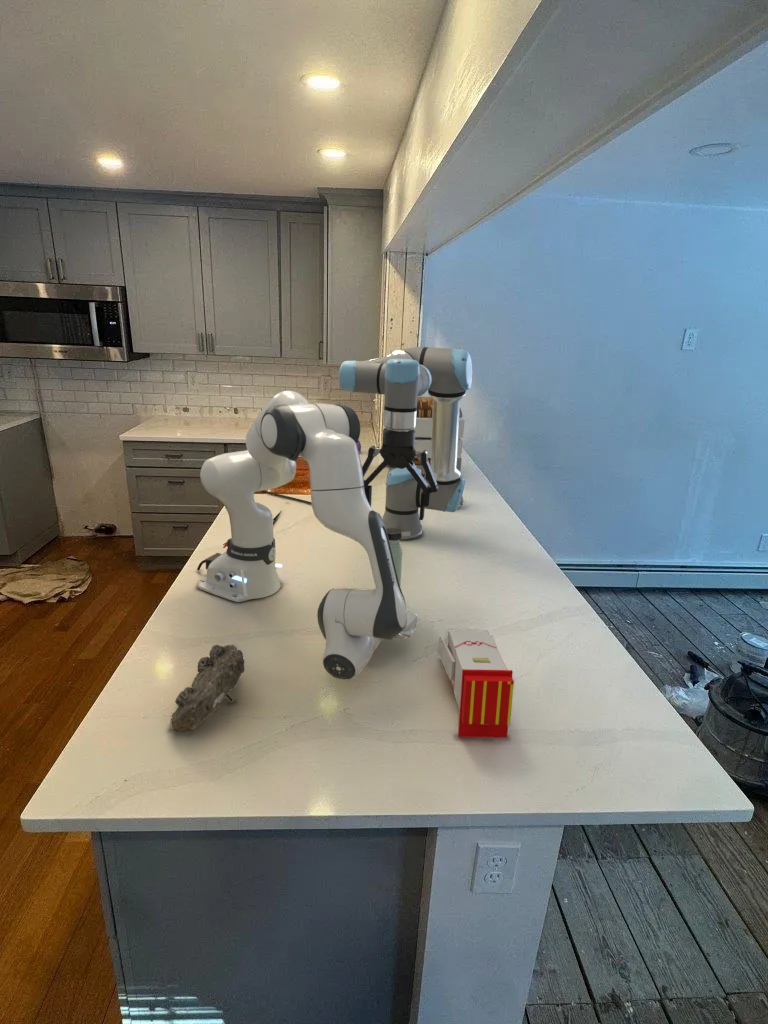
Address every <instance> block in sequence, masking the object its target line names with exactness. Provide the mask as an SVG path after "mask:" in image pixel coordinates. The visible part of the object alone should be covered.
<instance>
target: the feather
mask: <svg viewBox="0 0 768 1024" xmlns="http://www.w3.org/2000/svg"><path fill="white" fill-rule="evenodd" d="M281 512H282V510H280V512H279V513H277V514H276V516H275V517H273V526H274V525H275V523H276V521H277V520H278V518H279V516H280V514H281Z"/></svg>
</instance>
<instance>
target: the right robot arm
mask: <svg viewBox="0 0 768 1024" xmlns="http://www.w3.org/2000/svg"><path fill="white" fill-rule="evenodd" d="M472 383H473V362H472V357H471V355H470V353H469V352H468V351H467V350H465V349H458V348H456V347H434V346H433V347H431V346H430V347H428V346H412V347H406V348H403V349H398V350H394V351H392V352H390V353H389V354H388V355H387V356H382V357H377V358H373V359H368V360H355V359H354V360H344V361H343V362H342V363H341V365H340V367H339V371H338V384H339V387H340V388H341V390H343V391H345V392H352V393H363V394H374V395H384V401H383V402H384V403H383V418H382V420H383V421H382V423H383V424H382V426H383V427H384V428H383V429H382V442H381V444H382V445H381V447H376V446H375V445H371V446H370V447H369V448H368V452H367V457H366V459H365V461H364V463H363V464H362V471H363V478H365V476H366V473H367V471H368V470H369V468H370V467H371V464H372V462H373V460H374V458H375V457H377V456H378V455H379V454H380V456H381V457H382V462H381V463H380V464H379V465H378V466H377V467H376V468H375V469H374V470H373V472H372V473H370V475H368V477H367V478H366V479H364V490H365V495H366V498H367V500H368V503H369V505H370V506H371V507H372V496H373V495H372V493H373V491H372V490H373V485H371V483H372V481H374V479H375V478H377V476H378V475H379V474H380V473H381V472H382V471H383V470H384V469H385V468H386V467H387V466H386V465H388V466H389V467H388V468H389V469H390V468H396V469H393V470H391V471H390V470H389V472H388V473H387V475H386V482H385V504H384V505H385V507H384V508H385V509H384V513H383V515H382V520H383V522H384V525H385V528H386V529H387V528H397V529H400V530H401V531H402V537H401V539H400V540H399V541H410V540H415V539H418V538H420V537H421V536H422V535H423V525H422V524H421V521H423V520H424V518H425V510H433V511H439V512H443V513H445V512H447V513H455V512H457V511H458V509H459V508H460V506H461V505H460V502H461V499H462V497H463V495H464V491H465V485H466V479H464V478H462V477H461V474H460V471H459V470H458V469H456V464H457V447H458V430H459V414H460V408H461V400H462V399H463V398H464V397H465V396H466V395H467V391H468V390H469V391H470V390H471V387H472V385H473V384H472ZM426 392H427V394H428V395H429V397H432V398H433V406H432V434H431V463H430V464H429V461H428V452H427V451H426V450H424V451H423V452H416V451H415V430H414V428H415V427H416V413H417V398H418V397H422V396H423V395H424V394H426ZM415 457H418V459H419V461H421V462H422V466H421V467H422V468H423V471H424V473H422V469H421V468H419V467H417V466H415V464H414V463H413V461H412V460H413V459H414V458H415ZM258 492H261V493H264V494H267V495H272V496H275V497H276V496H277V497H280V498H284V499H289V500H291V501H297V502H301V503H305V504H309V505H312V503H311V501H310V500H309V501H308V500H305V499H301V498H297V497H293V496H288V495H284V494H280V493H276V492H271V491H269V490H263V491H258ZM458 507H459V508H458Z"/></svg>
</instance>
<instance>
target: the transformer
mask: <svg viewBox="0 0 768 1024" xmlns="http://www.w3.org/2000/svg"><path fill="white" fill-rule="evenodd" d="M432 406H433V398H432V397H431V396H418V398H417V413H416V427H415V428H414V430H415V451H416V452H423V451H424V450H426V451H427V452H428V461H429V464H430V463H431V434H432ZM464 429H465V419H464V418H463V411H462V408H461V407H460V414H459V430H458V447H457V464H456V469H458V470H459V471H460V475H461V472H462V461H463V460H462V453H463V442H464V441H463V440H462V439H463V438H464V431H465V430H464ZM412 461H413V463H414V464H415V466H416V467H417V466H418V467H423V466H422V462H421V461H419V459H418V457H415V458H414V459H413V460H412ZM386 467H388V468H389V472H390V471H391V470H393V469H396V468H390V467H389V466H388V465H386Z"/></svg>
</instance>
